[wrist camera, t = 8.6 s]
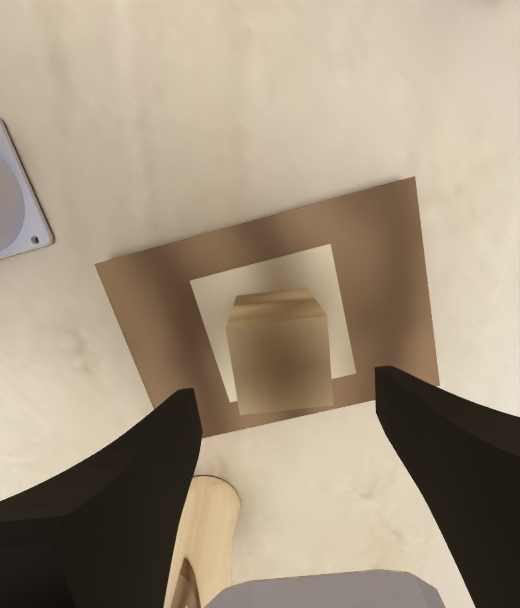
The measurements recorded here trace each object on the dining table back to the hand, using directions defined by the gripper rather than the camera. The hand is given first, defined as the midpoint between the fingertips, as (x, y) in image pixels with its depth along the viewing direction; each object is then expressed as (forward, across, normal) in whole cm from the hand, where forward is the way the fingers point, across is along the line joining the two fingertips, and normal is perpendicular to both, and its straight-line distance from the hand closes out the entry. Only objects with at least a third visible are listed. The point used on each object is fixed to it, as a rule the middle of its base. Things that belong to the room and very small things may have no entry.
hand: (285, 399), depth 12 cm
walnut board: (+10, 0, 0) cm, 10 cm away
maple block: (+8, 0, 0) cm, 8 cm away
